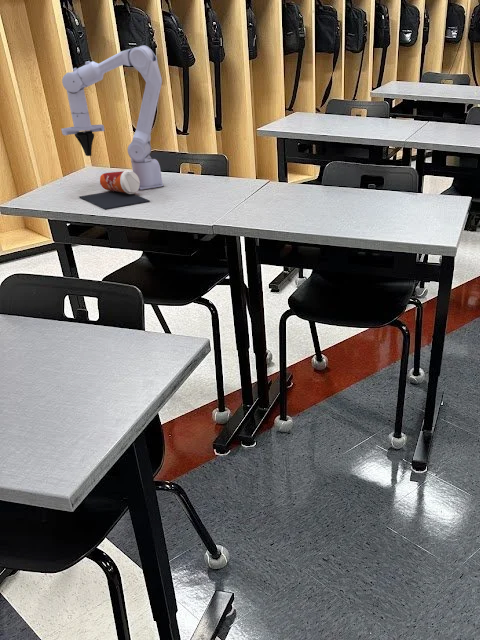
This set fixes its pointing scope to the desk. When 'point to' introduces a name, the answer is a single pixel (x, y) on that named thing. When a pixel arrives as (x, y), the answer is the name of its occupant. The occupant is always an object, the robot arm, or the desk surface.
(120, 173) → the paper cup
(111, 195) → the desk mat
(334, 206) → the desk surface
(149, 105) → the robot arm
